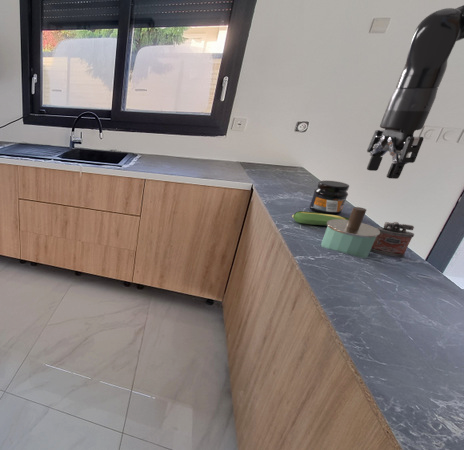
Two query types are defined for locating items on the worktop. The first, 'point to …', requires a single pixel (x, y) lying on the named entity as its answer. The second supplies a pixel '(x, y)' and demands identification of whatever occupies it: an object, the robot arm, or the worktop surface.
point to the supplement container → (329, 197)
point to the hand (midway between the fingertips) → (381, 174)
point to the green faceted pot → (347, 243)
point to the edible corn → (314, 218)
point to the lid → (354, 225)
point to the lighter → (393, 239)
